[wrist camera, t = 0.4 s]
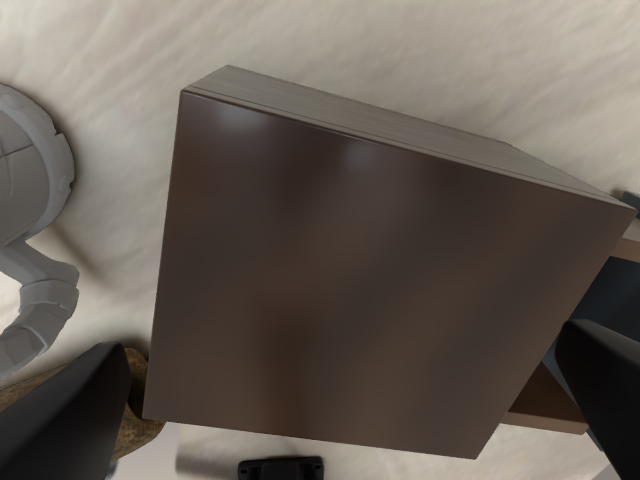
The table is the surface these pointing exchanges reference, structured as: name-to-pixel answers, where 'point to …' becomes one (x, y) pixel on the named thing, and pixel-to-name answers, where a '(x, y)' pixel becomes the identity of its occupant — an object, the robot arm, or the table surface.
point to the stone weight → (133, 425)
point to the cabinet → (359, 269)
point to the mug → (32, 227)
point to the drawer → (597, 306)
